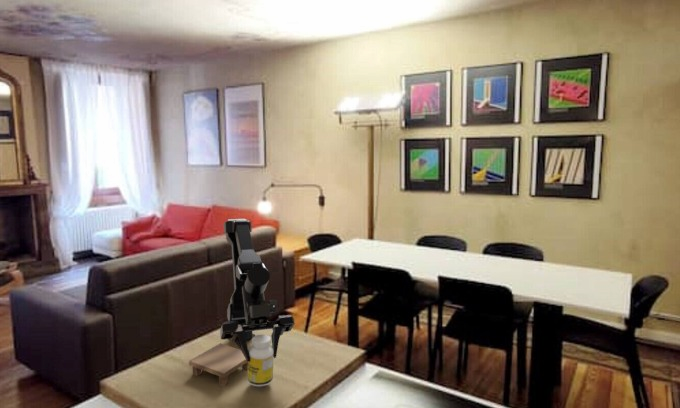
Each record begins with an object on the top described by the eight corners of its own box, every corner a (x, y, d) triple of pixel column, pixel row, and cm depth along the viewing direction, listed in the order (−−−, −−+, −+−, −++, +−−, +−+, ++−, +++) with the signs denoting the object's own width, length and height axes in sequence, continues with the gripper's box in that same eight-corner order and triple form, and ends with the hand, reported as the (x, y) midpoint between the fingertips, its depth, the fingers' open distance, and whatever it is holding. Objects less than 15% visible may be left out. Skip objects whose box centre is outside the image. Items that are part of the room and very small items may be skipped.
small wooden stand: (189, 374, 120) (189, 360, 119) (220, 356, 130) (220, 343, 129) (223, 388, 114) (223, 373, 114) (253, 367, 125) (253, 354, 124)
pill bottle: (245, 376, 118) (245, 334, 116) (269, 372, 120) (270, 331, 118) (250, 389, 112) (251, 346, 110) (275, 385, 114) (276, 342, 112)
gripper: (222, 292, 112) (227, 354, 104) (293, 286, 119) (304, 343, 111) (218, 309, 121) (223, 368, 112) (285, 303, 128) (294, 358, 119)
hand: (261, 359), depth 114 cm, fingers closed on pill bottle, 6 cm apart
